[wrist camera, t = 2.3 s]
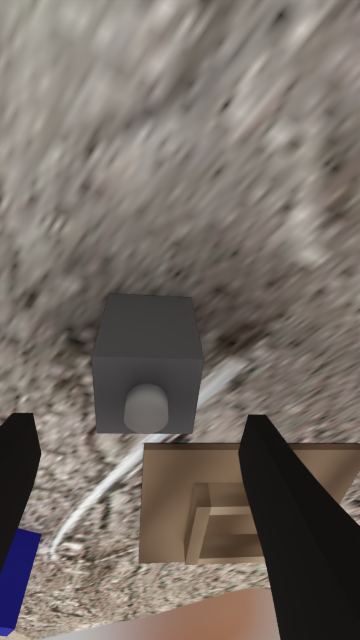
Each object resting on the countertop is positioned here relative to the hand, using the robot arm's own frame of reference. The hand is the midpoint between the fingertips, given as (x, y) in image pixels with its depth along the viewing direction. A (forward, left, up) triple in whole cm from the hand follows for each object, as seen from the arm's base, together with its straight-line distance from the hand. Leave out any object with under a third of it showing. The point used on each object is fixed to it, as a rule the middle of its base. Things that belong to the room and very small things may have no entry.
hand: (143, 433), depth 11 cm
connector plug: (0, 0, -7) cm, 7 cm away
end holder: (-8, +17, -7) cm, 20 cm away
